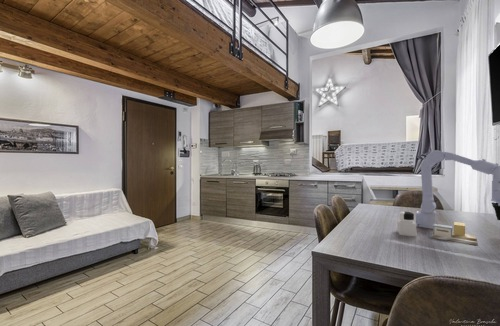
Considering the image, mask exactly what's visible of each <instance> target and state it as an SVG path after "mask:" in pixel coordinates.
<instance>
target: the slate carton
mask: <svg viewBox="0 0 500 326" xmlns="http://www.w3.org/2000/svg"><path fill="white" fill-rule="evenodd" d="M452 232H453V226H452V225H446V224H434V225H433V229H432V235H438V236H444V237H450V238H452Z"/></svg>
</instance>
